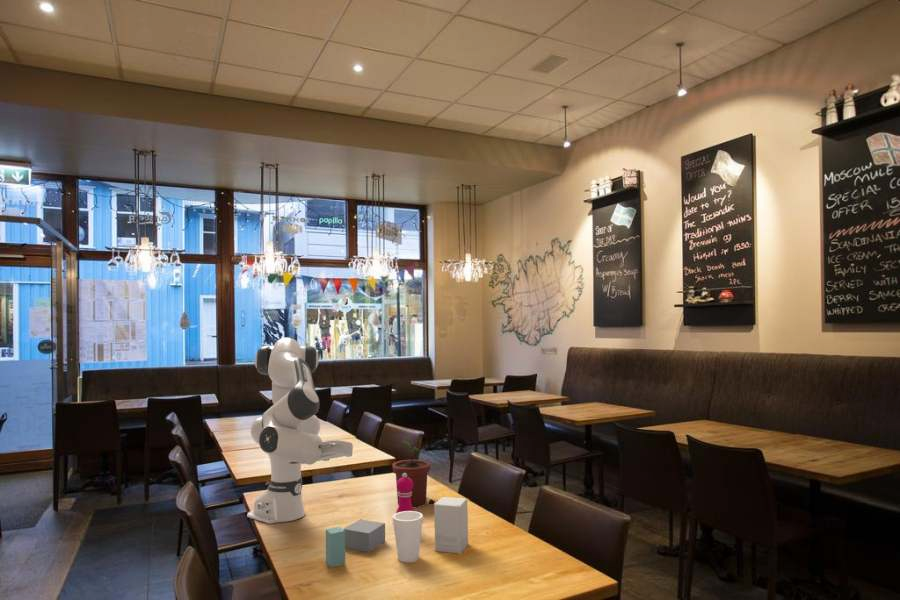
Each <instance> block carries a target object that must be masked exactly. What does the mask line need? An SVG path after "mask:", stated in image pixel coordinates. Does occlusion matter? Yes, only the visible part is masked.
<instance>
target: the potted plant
mask: <svg viewBox="0 0 900 600" xmlns="http://www.w3.org/2000/svg"><path fill="white" fill-rule="evenodd" d="M402 442H403V444H405V446H406V447H408V448H409V449H410V459H405V460H403V459H402V460H398V461H396V462H394V463H392V464H391V465H392V472H393V473H394V475H395V482H396V485H397V481H398V480H399V479H400V478H402V475H403V473H406V474H407V477H408V478H410V479H411V480H412V481H413V488H412V489H411V491H412V495H411V505H412V507H416V508H420V507H419V506H421V507H423V506H422V505H424V504H425V503H426V504H427V494H428V493H427V492H428V491H427V490H428V489H427V486H428V473H429V472H431V462H430V461H427V460H424V459H413V452H420V450H419V448H417V447H413V449H412V448H411V444H410V443H409V442H407V441H404V440H403V441H402ZM398 491H399V490H398V489H397V488H396V497H397V505H398V506H399V496H398ZM428 503H429V504H434V503H436V501H435V500H433V499H430V500H429V501H428ZM426 504H425V505H426ZM429 504H428V505H429ZM425 505H424V506H425Z"/></svg>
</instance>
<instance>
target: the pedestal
mask: <svg viewBox="0 0 900 600" xmlns="http://www.w3.org/2000/svg"><path fill="white" fill-rule="evenodd" d="M342 529H343V530H345V549H350V550H355V551H360V552H365V553H370V552H371V551H373V550H374V549H376V548H377V547H379V546H380V545H382V544H384V543H385V542H386V523H385V522H380V521H374V520H368V519H367V520H366V519H359V520H357V521H355V522H353V523H351V524H349V525H348V526H346V527H344V528H342Z"/></svg>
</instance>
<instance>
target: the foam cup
mask: <svg viewBox="0 0 900 600" xmlns="http://www.w3.org/2000/svg"><path fill="white" fill-rule="evenodd" d="M423 523H424V515H423V513H421V512H419V511H415V510H414V511H403V512H398V513H396V512H395V513H394V514H393V515H392V525H393V531H394V537H395V545H396V554H397V557H398V558H397V559H398V561H400V562H402V563H413V562H416V561H418V560H419V556H420V549H421V538H422V529H423Z"/></svg>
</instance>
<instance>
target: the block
mask: <svg viewBox="0 0 900 600" xmlns="http://www.w3.org/2000/svg"><path fill="white" fill-rule="evenodd" d="M343 529H344V528H342V527H341V526H336V527H331V528H330V527H329V528H325V563H326V564H327V565H328V566H329V567H330V568H335V567H338V566H337V565H339V566H342V565H341V564H343V565H346V548H345V530H343ZM334 566H335V567H334Z"/></svg>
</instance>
